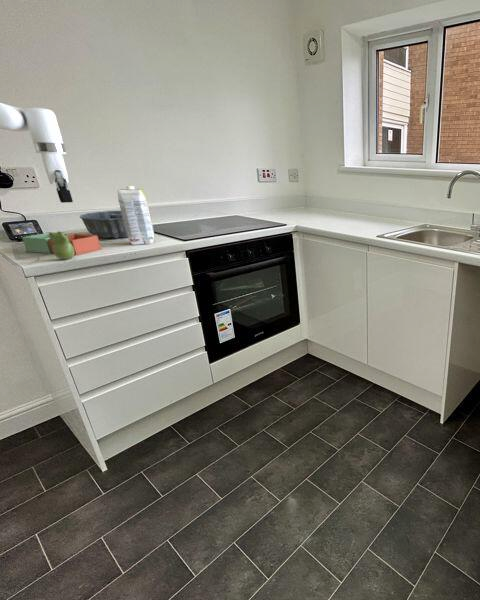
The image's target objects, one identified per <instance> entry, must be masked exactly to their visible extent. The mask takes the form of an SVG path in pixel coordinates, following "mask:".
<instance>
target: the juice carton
mask: <svg viewBox="0 0 480 600" xmlns="http://www.w3.org/2000/svg"><path fill="white" fill-rule="evenodd" d="M117 200H118V205H119V209H120V211H121V213H122V217H123V220H124V224H125V228H126V232H127V236H128V237H127V238H128V240H129V243H130V244H131V245H132V246H135V245H136V246H137V245H152V244H153V243H154V240H155V231H154V226H153V221H152V218H151V213H150V209H149V203H148V201H147V200H148V199H147V196H146V194H145V191H144V190H143V188H135V186H133V185H126V188H120V189H118V190H117Z"/></svg>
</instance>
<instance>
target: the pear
mask: <svg viewBox="0 0 480 600" xmlns="http://www.w3.org/2000/svg"><path fill="white" fill-rule="evenodd" d="M52 233H53V234H52V235H50V240H51V241H52V242H53V252H54V253H53V254H54V256H55V257H56V258H57V259H59V260H67V261H68V260H71V259H72V258H73V257H74V256H75V255H74V247H73V245H72V244H71V243H70V242H69V239H68V237H67V236H66V235H64V233H65V232H63V231H57V232H52Z"/></svg>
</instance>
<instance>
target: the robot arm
mask: <svg viewBox="0 0 480 600" xmlns="http://www.w3.org/2000/svg"><path fill="white" fill-rule="evenodd" d="M0 130H5V131H10V132H29V135H30V137H31V140H32V143H33V146H34V150H35V152H36V154H40V155H41V159H42V163H43V167H44V169H45V172H46V176H47V179H48V182H49V184H50V185H54V183H55V186H56V188H55V190H56V192H57V196H58V199H59V201H60V203H63V204H64V203H73V202H74V201H73V196H72V193H71V191H70V189H69V187H68V184H69V183H70V182H69V175H68V170H67V166H66V163H65V160H64V156H63V155H67V150H66V147H65V144H64V140H63V136H62V133H61V130H60V127H59V123H58V119H57V116H56V113H55V112H54V111H53V110H51V109H48V108H44V107H33V106H31V107H29V106H28V107H27V106H26V107H24V108H23V107H18V106H13V105H9V104H6V103H3V102H0Z"/></svg>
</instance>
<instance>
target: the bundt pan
mask: <svg viewBox="0 0 480 600" xmlns="http://www.w3.org/2000/svg"><path fill="white" fill-rule="evenodd" d="M79 218H80V219H81V220H82V222H83V225H84V226H85V228H86V231H88V233H90V235H97V236H98V238H99V239H111V238H114V239H119V238H128V236H127V232H126V228H125V224H124V220H123V217H122V213H121V210H105V211H96V212H95V211H93V212H86V213H83V214H80V215H79Z"/></svg>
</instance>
